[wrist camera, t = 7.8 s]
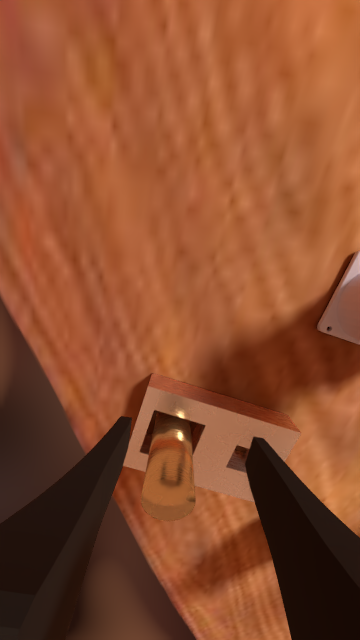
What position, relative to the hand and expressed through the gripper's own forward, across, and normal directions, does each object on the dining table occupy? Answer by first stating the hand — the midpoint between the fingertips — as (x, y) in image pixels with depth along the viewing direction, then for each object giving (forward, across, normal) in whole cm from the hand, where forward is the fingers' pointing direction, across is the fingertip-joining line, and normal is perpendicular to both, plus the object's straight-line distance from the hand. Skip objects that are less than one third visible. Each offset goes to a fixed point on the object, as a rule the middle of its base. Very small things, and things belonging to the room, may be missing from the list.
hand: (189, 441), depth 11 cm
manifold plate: (+9, -4, +8) cm, 13 cm away
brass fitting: (+9, 0, +7) cm, 12 cm away
